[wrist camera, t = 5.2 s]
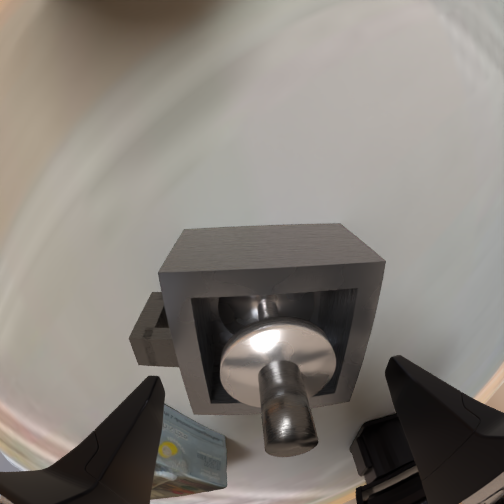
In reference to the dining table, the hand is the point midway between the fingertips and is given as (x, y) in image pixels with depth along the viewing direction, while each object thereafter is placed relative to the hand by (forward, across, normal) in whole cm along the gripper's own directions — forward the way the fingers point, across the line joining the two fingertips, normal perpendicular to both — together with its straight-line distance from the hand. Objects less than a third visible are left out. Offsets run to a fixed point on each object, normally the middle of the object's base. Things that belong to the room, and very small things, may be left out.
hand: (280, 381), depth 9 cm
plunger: (+6, 0, 0) cm, 6 cm away
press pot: (+6, +1, 0) cm, 6 cm away
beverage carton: (+7, +13, +18) cm, 24 cm away
